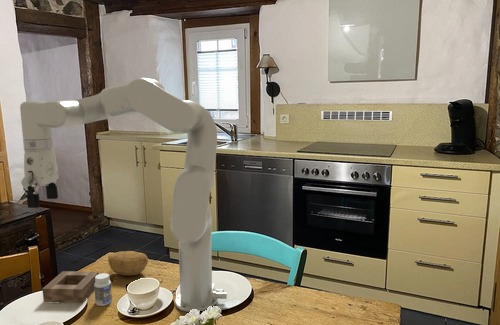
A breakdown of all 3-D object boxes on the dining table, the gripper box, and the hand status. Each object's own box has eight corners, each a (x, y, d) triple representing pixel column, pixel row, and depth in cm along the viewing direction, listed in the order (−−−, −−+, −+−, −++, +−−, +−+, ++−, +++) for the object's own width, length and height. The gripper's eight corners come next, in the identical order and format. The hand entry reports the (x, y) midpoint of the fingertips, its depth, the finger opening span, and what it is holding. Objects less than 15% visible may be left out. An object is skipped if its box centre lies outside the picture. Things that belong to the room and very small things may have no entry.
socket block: (99, 284, 131) (98, 271, 130) (82, 303, 119) (81, 289, 118) (63, 284, 131) (62, 271, 131) (43, 302, 120) (42, 288, 119)
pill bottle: (106, 306, 117) (104, 280, 116) (92, 305, 118) (90, 278, 117) (115, 299, 122) (113, 273, 120) (101, 297, 123) (99, 271, 121)
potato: (118, 266, 145) (117, 245, 143) (153, 270, 142) (152, 249, 140) (102, 278, 135) (100, 256, 134) (139, 282, 132) (138, 260, 131)
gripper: (34, 149, 105) (39, 211, 108) (66, 141, 122) (70, 195, 125) (6, 148, 105) (12, 211, 108) (42, 141, 122) (47, 195, 125)
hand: (43, 202), depth 116 cm, fingers open, 9 cm apart
